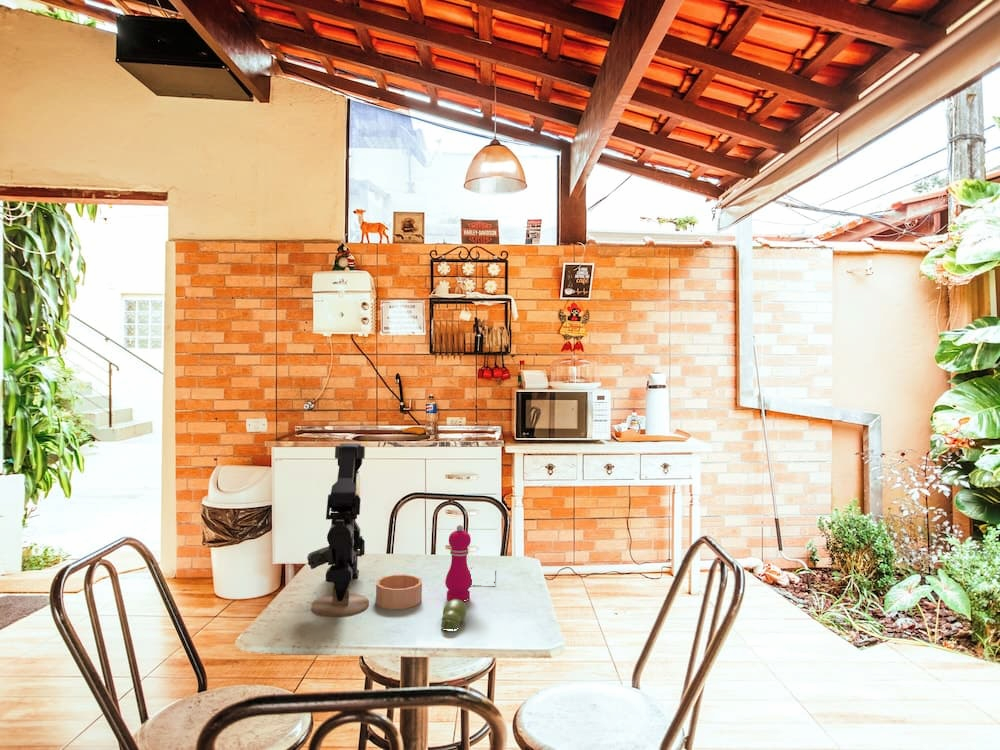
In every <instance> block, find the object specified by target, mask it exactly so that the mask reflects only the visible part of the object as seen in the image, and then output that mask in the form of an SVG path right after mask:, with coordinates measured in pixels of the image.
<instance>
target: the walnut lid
mask: <svg viewBox="0 0 1000 750" xmlns="http://www.w3.org/2000/svg"><path fill="white" fill-rule="evenodd" d="M369 606H370V600H369V598H368V597H367V596H365V595H363V594H359V593H353V592H350V585H349V586H348V588H347V590H346V593H345V595H344V598H343V600H342V601H338V600H337V595H336V591H335V586H334V585H333V587H332V593H331V594H326V595H323V596H320V597H318V598H317V599H315V600H314V601H313V602H311V611H312V612H313V613H314V614H316V615H319V616H323V617H329V618H332V617H333V618H337V617H340V618H341V617H348V616H353V615H356V614H359V613H362V612H364V611H366V609H368V608H369Z"/></svg>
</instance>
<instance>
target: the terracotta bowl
mask: <svg viewBox="0 0 1000 750" xmlns="http://www.w3.org/2000/svg"><path fill="white" fill-rule="evenodd" d="M375 588H376V589H375V605H377V606H379V607H380V608H383V609H388V610H389V609H390V610H406V609H409V607H410V608H413V606H414V607H417V606H418V605H419V604H421V603H422V600H423V599H422V597H423V596H422V594H423V581H422V578H420V577H418V576H415V575H412V574H406V573H405V574H402V573H401V574H391V575H386V576H382V577H381V578H379V579H377V580H376V585H375ZM420 602H421V603H420ZM417 604H418V605H417ZM416 605H417V606H416Z"/></svg>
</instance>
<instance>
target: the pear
mask: <svg viewBox="0 0 1000 750" xmlns="http://www.w3.org/2000/svg"><path fill="white" fill-rule="evenodd" d="M467 609H468V608H467V605H466V604H465V601H464V602H463V601H461V600H459V599H453V600H450V601H449V600H448V602H447V603H446V604H445V606H444V607H443V611H442V618H441V625H440V628H441V627H442V628H443V629H453V630H454V629H457V628H459V627H460V625H461V621H463V620H464V619H465V618H466V616H467ZM442 628H441V629H442ZM460 628H461V627H460ZM460 628H459V629H460Z"/></svg>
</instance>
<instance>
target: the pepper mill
mask: <svg viewBox="0 0 1000 750" xmlns="http://www.w3.org/2000/svg"><path fill="white" fill-rule="evenodd" d="M471 541H472V540H471V535H470V534H469V533H468V532H467V531H466V530H464V526H463V525H462V524H458V525H457V526H456V530H453V531H452V532H451V533H450V535H449V536H448V544H449V546H450V547H451V548H450V549H449V550H450V552H449V554H450V555H451V562H450V568H449V570H448V572H447V574H446V576H445V581H444V582H445V583H444V585H445V587H446V589H448V590H447V591H446V599H447V600H448V601H449V600H453V599H459V600H461V601H464V600H467V599H469V600H470V598H471V595H470V594H471V592H470V588H471V587H472V586H471V585H472V579H471V574H470V568H469V566H468V564H467V560H468V559H467V557H468V555H469V551H470V549H469V547H470V545H471ZM467 601H468V600H467ZM464 602H465V601H464Z"/></svg>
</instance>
